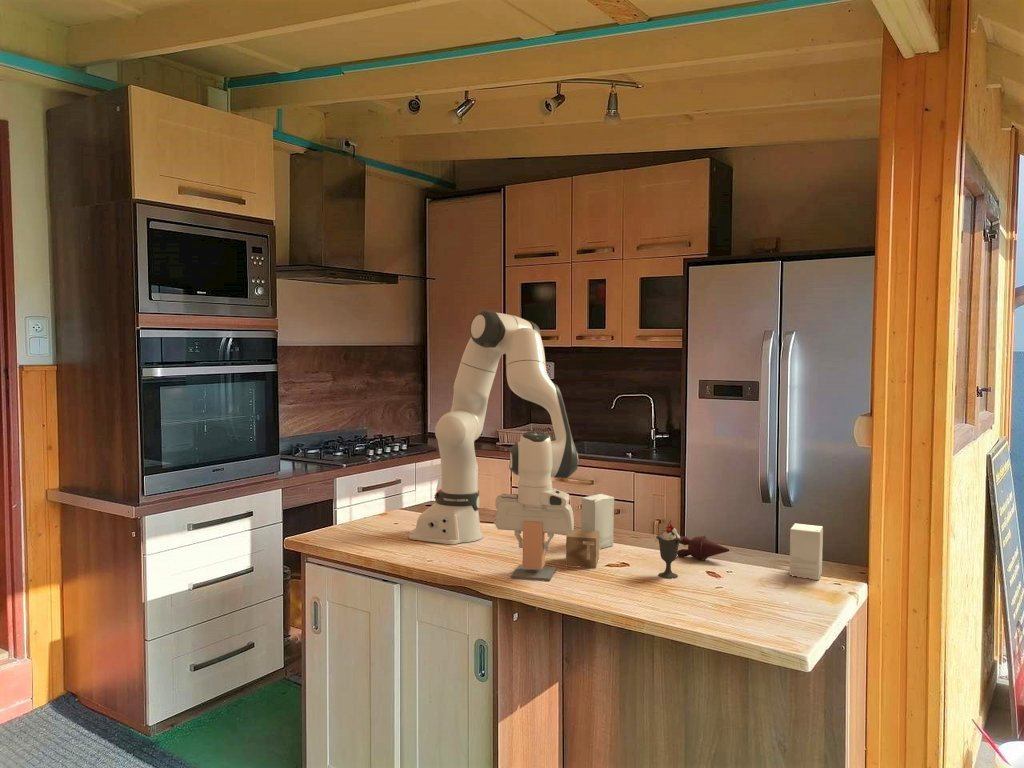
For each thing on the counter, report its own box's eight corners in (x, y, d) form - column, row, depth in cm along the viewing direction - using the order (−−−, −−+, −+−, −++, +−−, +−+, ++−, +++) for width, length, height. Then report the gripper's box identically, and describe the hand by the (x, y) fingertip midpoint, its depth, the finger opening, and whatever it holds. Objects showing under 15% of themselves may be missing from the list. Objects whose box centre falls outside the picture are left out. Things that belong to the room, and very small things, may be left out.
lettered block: (565, 566, 211) (566, 536, 211) (570, 557, 219) (570, 529, 219) (595, 568, 209) (596, 538, 209) (598, 559, 217) (599, 531, 217)
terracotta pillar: (522, 567, 202) (522, 521, 201) (526, 562, 207) (526, 517, 206) (541, 569, 201) (542, 522, 200) (545, 563, 206) (545, 518, 205)
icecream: (733, 537, 218) (682, 534, 227) (725, 536, 212) (672, 533, 221) (733, 563, 217) (681, 559, 225) (724, 562, 211) (671, 558, 219)
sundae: (666, 581, 199) (667, 522, 198) (650, 573, 205) (651, 516, 204) (686, 577, 202) (688, 519, 201) (670, 570, 208) (671, 514, 207)
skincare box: (599, 542, 236) (600, 493, 236) (614, 546, 232) (615, 496, 231) (579, 546, 231) (580, 496, 230) (594, 551, 226) (595, 499, 226)
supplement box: (822, 573, 207) (824, 526, 207) (818, 580, 201) (820, 531, 200) (793, 569, 211) (794, 522, 210) (788, 576, 204) (789, 528, 204)
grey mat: (510, 578, 200) (510, 575, 200) (518, 566, 210) (519, 564, 210) (549, 581, 198) (549, 578, 198) (556, 569, 208) (556, 567, 208)
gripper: (492, 495, 202) (492, 548, 203) (572, 500, 198) (571, 554, 198) (498, 490, 208) (497, 542, 209) (575, 495, 204) (574, 547, 205)
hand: (534, 548), depth 204 cm, fingers closed on terracotta pillar, 5 cm apart
